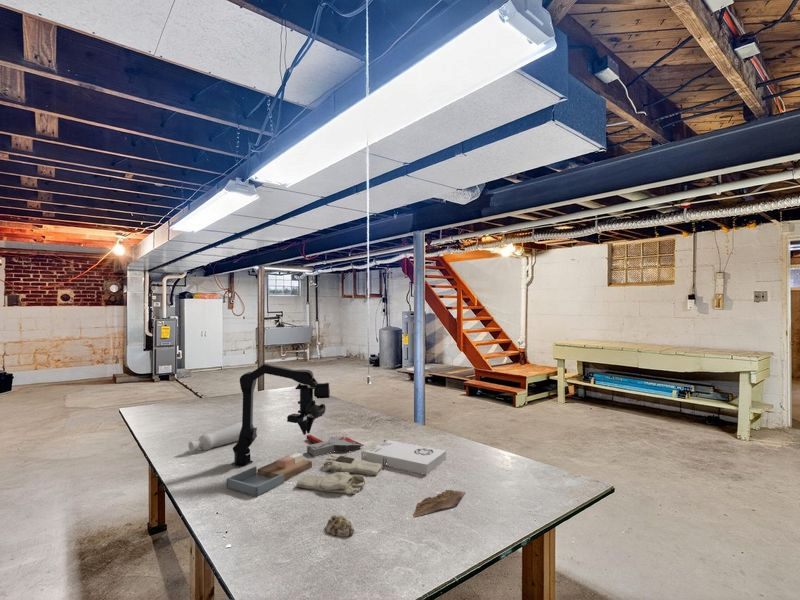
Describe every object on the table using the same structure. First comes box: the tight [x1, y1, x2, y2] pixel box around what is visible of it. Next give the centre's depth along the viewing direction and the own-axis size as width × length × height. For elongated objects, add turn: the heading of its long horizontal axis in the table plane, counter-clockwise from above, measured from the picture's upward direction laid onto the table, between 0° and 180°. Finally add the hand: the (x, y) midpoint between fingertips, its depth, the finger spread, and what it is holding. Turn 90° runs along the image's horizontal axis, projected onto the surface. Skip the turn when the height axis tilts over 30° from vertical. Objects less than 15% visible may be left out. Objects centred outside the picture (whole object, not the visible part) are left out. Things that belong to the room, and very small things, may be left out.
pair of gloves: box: [296, 453, 383, 495], centre depth 163 cm, size 30×26×5 cm
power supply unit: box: [360, 439, 447, 475], centre depth 181 cm, size 19×33×5 cm, turn 59°
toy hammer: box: [306, 434, 364, 458], centre depth 202 cm, size 24×4×30 cm
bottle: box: [188, 421, 242, 452], centre depth 203 cm, size 9×9×30 cm
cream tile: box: [285, 451, 304, 464], centre depth 175 cm, size 5×5×2 cm
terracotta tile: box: [276, 455, 294, 468], centre depth 170 cm, size 5×5×2 cm
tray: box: [226, 466, 285, 498], centre depth 156 cm, size 16×14×4 cm
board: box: [257, 458, 313, 482], centre depth 170 cm, size 14×17×2 cm
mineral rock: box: [325, 515, 355, 538], centre depth 124 cm, size 11×4×8 cm
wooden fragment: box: [412, 489, 466, 518], centre depth 141 cm, size 26×11×1 cm, turn 129°
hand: (306, 433), depth 182 cm, fingers open, 2 cm apart
